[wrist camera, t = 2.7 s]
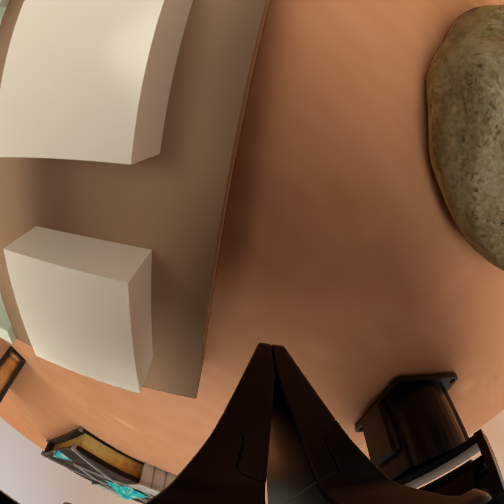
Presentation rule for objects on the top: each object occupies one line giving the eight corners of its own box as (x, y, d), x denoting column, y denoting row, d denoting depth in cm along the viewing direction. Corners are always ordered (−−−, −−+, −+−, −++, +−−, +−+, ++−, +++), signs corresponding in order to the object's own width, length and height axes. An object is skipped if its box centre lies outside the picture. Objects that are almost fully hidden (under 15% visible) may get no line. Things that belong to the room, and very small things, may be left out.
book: (48, 437, 25) (37, 461, 21) (79, 420, 20) (64, 458, 16) (163, 495, 32) (159, 517, 27) (232, 489, 27) (230, 519, 22)
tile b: (194, -6, 5) (177, -37, 3) (159, 153, 7) (130, 164, 5) (59, 13, 5) (24, 0, 3) (34, 146, 7) (-6, 157, 5)
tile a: (151, 249, 8) (128, 282, 7) (153, 356, 11) (140, 393, 9) (36, 226, 8) (3, 248, 6) (56, 327, 10) (35, 355, 8)
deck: (275, -21, 6) (281, -53, 4) (203, 361, 14) (196, 398, 12) (44, -1, 6) (14, -11, 3) (37, 314, 13) (16, 338, 11)
